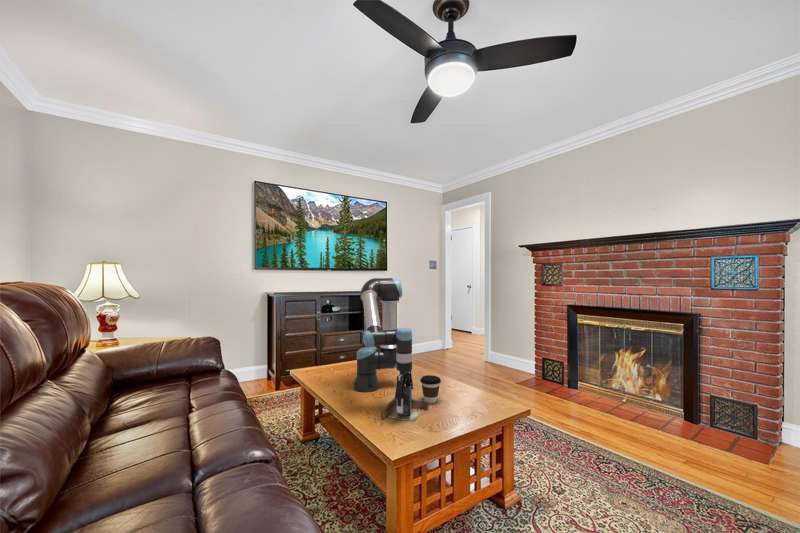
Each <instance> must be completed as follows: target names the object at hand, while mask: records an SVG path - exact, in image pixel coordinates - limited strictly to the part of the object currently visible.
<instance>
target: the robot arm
mask: <svg viewBox="0 0 800 533" xmlns="http://www.w3.org/2000/svg"><path fill="white" fill-rule="evenodd" d="M402 297H403V287H402V282H401V281H400V279H399V278H397V277H395V278H393V277H385V278H380V277H378V278H376V277H374V278H370V279H368V280H367V281H366V282H364V284H363V285H362V287H361V289H360V299H361V301H362V304H363V310H364V311H363V312H364V320H365V321H364V322H365V329H366V330H364V331H363V335H362V336H363V338H362V339H363V340H362V341H363V345H364V346H365V347H361V348H359V349H358V350H357V352H356V376H355V379H354V382H353V389H354V391H357V392H362V393H368V392H369V393H370V392H375V391H377V390H379V389H380V381H379V378H378V374H377V370H387V369H388V370H389V369H391V370H393V369H396V371H398V372H399V375H397V376H396V386H395V395H394V398H395V399H397V407H396V409H397V413H403V398H402V396H403V391H404V386H411V388H412V390H414V382H413V375H412V370H413V362H412V361H413V357H414V355H413V331H412V329H411V328H407V327H399V328H398V327H397V324H398V322H397V320H398V319H397V317H398V316H397V315H398V311H397V309H398V308H397V306H398V302H400V299H401V298H402ZM377 299H379V301H380V303H381V304H382V327H381V319H380V315H379V314H380V313H379V308H378V307H379V306H378V302H377ZM377 347H379V348H377Z"/></svg>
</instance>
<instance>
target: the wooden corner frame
mask: <svg viewBox="0 0 800 533" xmlns="http://www.w3.org/2000/svg"><path fill="white" fill-rule="evenodd" d="M429 404H430V403H429V401H425V400H424V399H423V400H422V399H416V398H412V409H416V410H417V409H418V410H423V411H429V409H430V408H429ZM380 411H381V412H380V416H381V417H380V418H381V420H386V418H392V419H398V420H404V421H409V422H415V421H417V419H418V418H419V416H420V415H421V412H417V411H416V412H415V411H411V415H410V416H397V399H395V397H394V398H392V399H391V401H389V402H388V403H387V404H386V405H385V406H384V407H383V408H382V409H381V410H380Z"/></svg>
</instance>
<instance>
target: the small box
mask: <svg viewBox="0 0 800 533" xmlns="http://www.w3.org/2000/svg"><path fill="white" fill-rule="evenodd" d="M412 390H413V389H412V388H411V386H406V385H404V391H403V396H402V398H403V413H397V416H410V415H411V412H412V410H413V408H412V399H413V398H412V396H413V395H412V393H413V392H412Z"/></svg>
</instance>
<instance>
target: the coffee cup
mask: <svg viewBox="0 0 800 533" xmlns="http://www.w3.org/2000/svg"><path fill="white" fill-rule="evenodd" d="M441 382H442V379H441V378H440V377H439V376H437V375H424V376H421V378H420V383H421V389H422V395H423V400H425V401H429V404H435V403H437V401H438V396H439V391H440V390H439V389H440V384H441Z"/></svg>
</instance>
